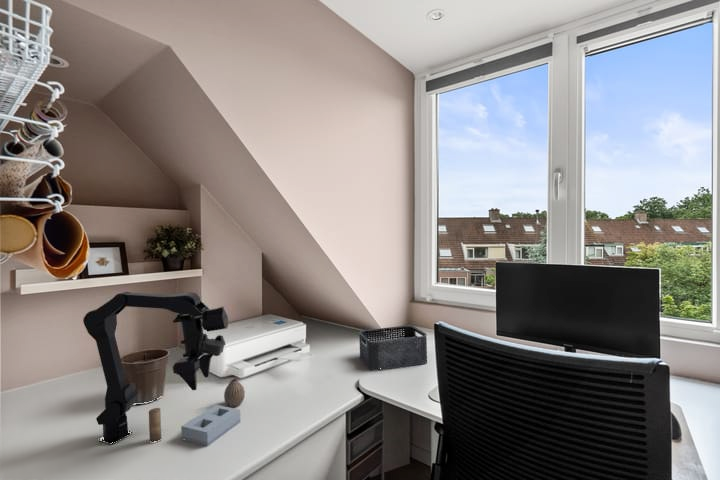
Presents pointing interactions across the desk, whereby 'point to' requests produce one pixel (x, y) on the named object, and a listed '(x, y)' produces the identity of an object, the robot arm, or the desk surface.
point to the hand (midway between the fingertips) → (200, 383)
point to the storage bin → (393, 347)
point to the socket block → (210, 425)
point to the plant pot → (146, 372)
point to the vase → (234, 393)
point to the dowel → (155, 424)
